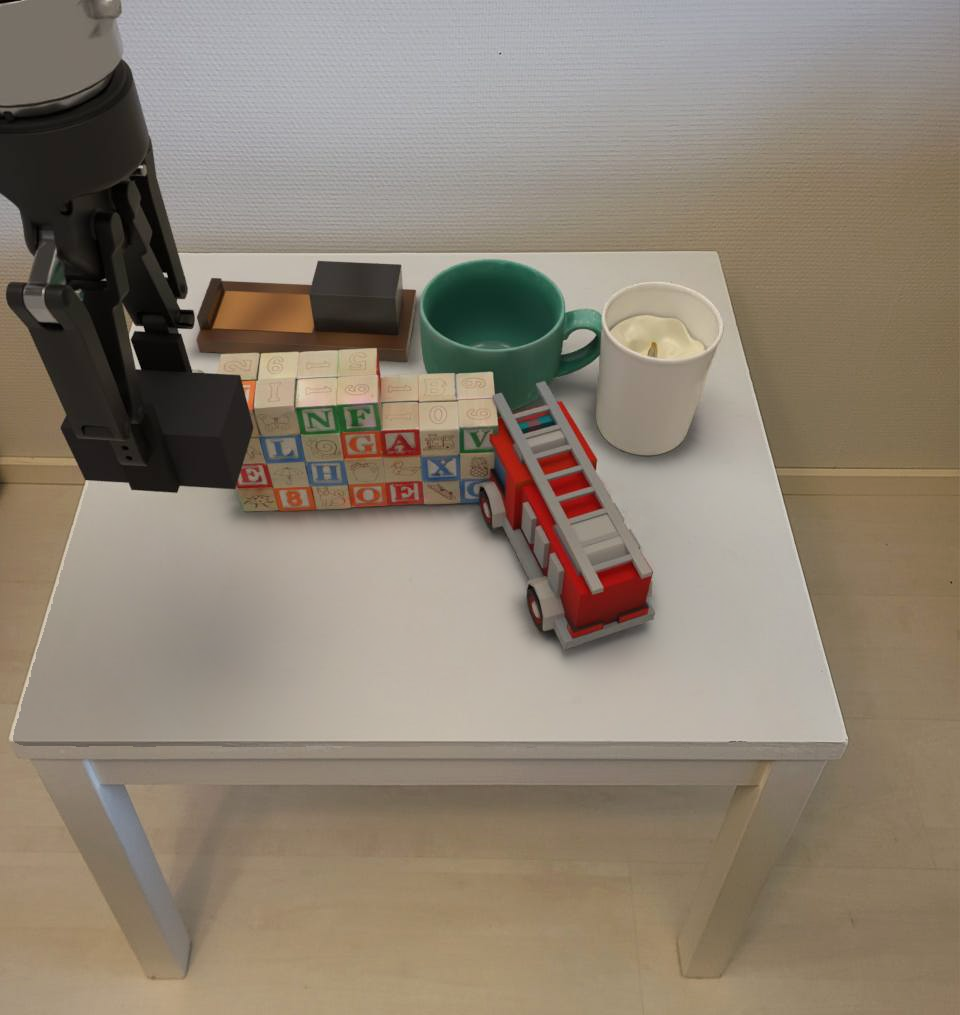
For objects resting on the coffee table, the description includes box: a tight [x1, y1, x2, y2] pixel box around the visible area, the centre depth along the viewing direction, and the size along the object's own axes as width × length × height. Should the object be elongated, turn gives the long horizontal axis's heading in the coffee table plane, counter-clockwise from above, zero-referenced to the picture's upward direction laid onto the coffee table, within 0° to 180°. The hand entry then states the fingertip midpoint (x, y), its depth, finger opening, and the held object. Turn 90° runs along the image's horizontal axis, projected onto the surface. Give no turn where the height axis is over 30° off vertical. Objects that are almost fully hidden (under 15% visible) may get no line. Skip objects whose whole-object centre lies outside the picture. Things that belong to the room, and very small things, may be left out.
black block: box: [59, 368, 253, 490], centre depth 56 cm, size 9×5×4 cm, turn 86°
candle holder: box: [595, 281, 725, 456], centre depth 82 cm, size 10×10×12 cm
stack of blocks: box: [216, 348, 499, 512], centre depth 77 cm, size 21×6×12 cm, turn 93°
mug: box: [418, 258, 602, 413], centre depth 86 cm, size 17×13×10 cm
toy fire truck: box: [478, 381, 656, 651], centre depth 74 cm, size 9×19×10 cm, turn 21°
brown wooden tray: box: [196, 260, 417, 363], centre depth 92 cm, size 20×9×6 cm, turn 87°
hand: (169, 450), depth 58 cm, fingers closed on black block, 5 cm apart
